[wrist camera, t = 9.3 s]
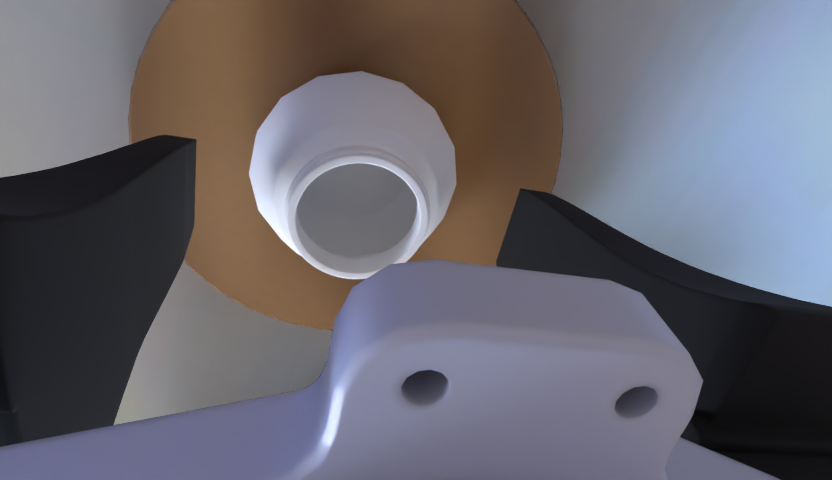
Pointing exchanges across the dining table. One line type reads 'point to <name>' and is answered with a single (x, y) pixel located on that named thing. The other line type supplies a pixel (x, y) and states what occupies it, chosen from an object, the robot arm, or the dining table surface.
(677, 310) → the robot arm
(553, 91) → the trivet
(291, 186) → the lidless jar
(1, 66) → the dining table surface
